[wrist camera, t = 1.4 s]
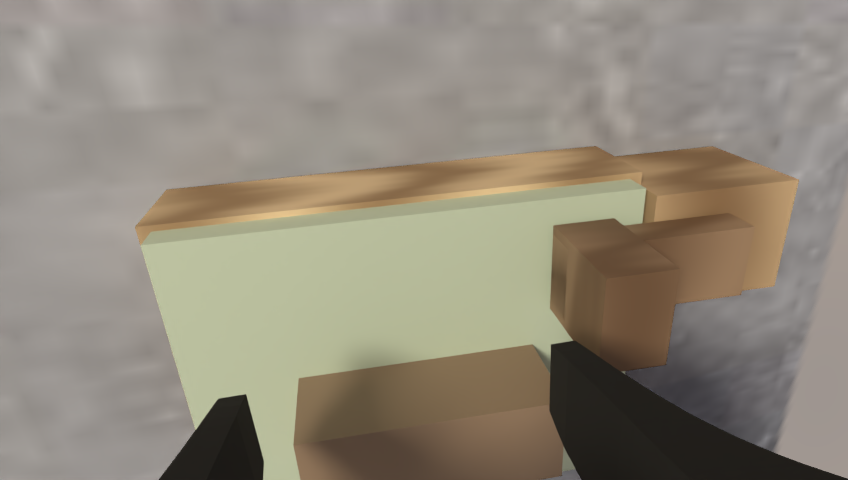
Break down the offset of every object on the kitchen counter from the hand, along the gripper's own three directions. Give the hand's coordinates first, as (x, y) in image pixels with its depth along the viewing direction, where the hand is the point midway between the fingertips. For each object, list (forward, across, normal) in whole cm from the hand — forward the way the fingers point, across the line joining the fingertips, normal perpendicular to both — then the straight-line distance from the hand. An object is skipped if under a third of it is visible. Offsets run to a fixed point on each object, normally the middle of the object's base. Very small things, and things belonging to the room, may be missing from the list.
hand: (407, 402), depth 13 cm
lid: (+6, -1, +3) cm, 7 cm away
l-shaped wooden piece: (+5, -8, 0) cm, 10 cm away
